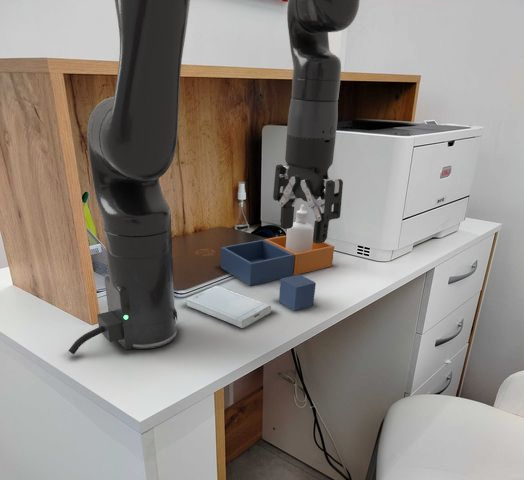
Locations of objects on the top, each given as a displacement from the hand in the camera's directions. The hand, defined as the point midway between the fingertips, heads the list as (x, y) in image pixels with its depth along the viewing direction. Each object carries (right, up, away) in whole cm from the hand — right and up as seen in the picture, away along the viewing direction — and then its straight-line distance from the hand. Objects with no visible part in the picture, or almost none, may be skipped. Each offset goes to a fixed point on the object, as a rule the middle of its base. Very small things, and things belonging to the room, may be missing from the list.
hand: (302, 235), depth 84 cm
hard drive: (-13, -13, +3) cm, 18 cm away
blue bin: (-8, -3, +18) cm, 20 cm away
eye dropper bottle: (+1, 0, +24) cm, 24 cm away
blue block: (-1, -11, +6) cm, 13 cm away
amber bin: (+1, 0, +24) cm, 24 cm away
